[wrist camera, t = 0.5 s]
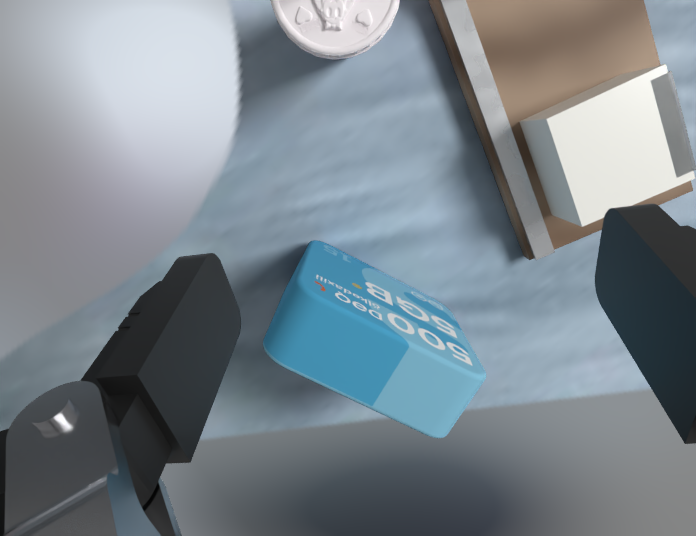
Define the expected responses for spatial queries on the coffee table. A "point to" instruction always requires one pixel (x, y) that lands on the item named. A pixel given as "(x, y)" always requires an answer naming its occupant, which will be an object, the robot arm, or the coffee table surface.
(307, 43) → the smoothie
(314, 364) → the data package
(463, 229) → the coffee table surface
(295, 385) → the coffee table surface
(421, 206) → the coffee table surface
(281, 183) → the coffee table surface
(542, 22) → the rail board
